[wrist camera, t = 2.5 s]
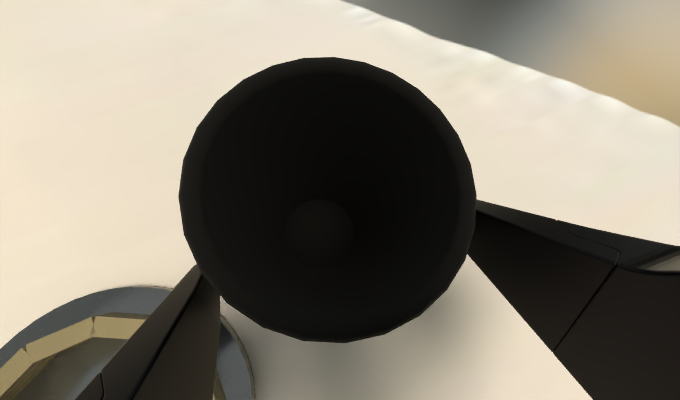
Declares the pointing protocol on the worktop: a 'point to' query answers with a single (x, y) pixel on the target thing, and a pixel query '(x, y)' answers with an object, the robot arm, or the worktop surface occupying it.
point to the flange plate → (101, 347)
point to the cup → (327, 200)
